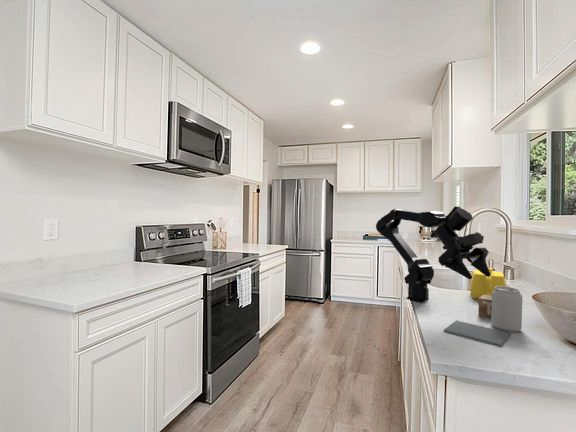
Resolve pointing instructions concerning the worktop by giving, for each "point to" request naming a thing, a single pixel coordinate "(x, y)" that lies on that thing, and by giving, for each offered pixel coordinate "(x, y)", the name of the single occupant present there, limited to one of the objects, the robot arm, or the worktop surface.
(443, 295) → the worktop surface
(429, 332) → the worktop surface
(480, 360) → the worktop surface
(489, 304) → the marked block
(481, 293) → the teapot
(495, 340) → the mat
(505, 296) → the can
